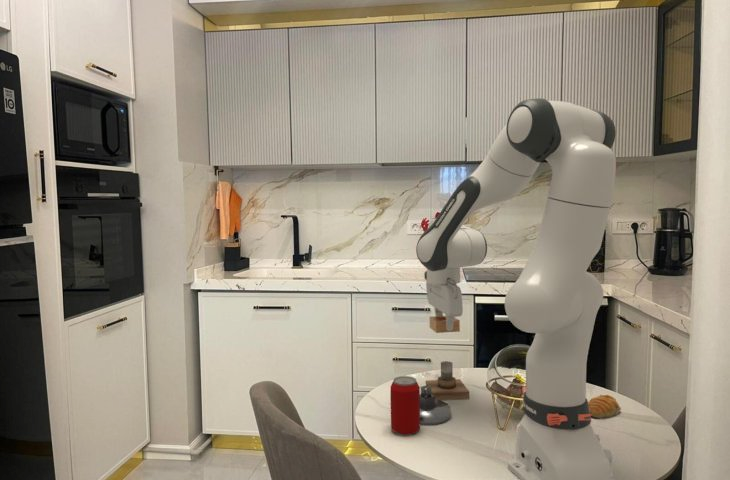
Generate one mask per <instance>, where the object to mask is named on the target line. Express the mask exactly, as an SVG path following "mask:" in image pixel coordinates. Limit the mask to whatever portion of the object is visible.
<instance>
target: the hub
mask: <svg viewBox="0 0 730 480" xmlns="http://www.w3.org/2000/svg"><path fill="white" fill-rule="evenodd" d="M451 407H452V406H450V404H448V402H445V400H437V399H435V396H434V395H432V394H431V387H430V386H426V385H422V386H420V426H438V425H442V424H445V423H447V422H448V421H450V420H451V418H452V417H451V415H452V414H451V413H452V410H451Z"/></svg>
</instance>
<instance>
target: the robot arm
mask: <svg viewBox="0 0 730 480" xmlns="http://www.w3.org/2000/svg"><path fill="white" fill-rule="evenodd" d="M616 134H617V133H616V125H615V123H614V121H613V119H612V118H611V117H610V116H609V115H608V114H606V113H604V112H602V111H601V110H598V109H595V108H588V107H586V106H585V107H584V106H581V105H579V104H574V103H572V102H569V101H562V100H548V99H545V98H542V97H541V98H529V99H525V100H522V101H520V102H519V103H517V104H516V105H515V107H514V108H513V109H512V110H511V112H510V115H509V117H508V119H507V123H506V124H505V125H504V126H503V128H502V129H501V131H500V132H499V134H497V137H495V140H494V141H493V143H492V145H491V147H490V148H489V150H488V152H487V154H486V156H485V157H484V159H483V161H482V162H481V163H480V164H479V165H478V167H476V168H475V170H474V171H473V172H472V173H471V174H470V175H469V176H468V177H467V178H465V179H464V180H462V181H461V183H459V185H458V186H457V187H456V189H455V190H454V191H453V193H452V194H451V196H450V197H449V199H447V201H446V203H445V204H444V206H443V208H442V209H441V210H440V212H439V214H438V215H437V216H436V217H434V218H431V219H430V220H429V221H428V226H427V229H426V230H425V231H423V233H422V234H421V235H420V237H419V239H418V241H417V244H416V249H415V250H416V256H417V259H418V260H419V262H420V264H421V265H422V266H423V267H424V268H426V270H425V271H424V274H423V276H424V277H423V278H424V280H426V282H425V285H426V289H425V290H426V297H427V298H426V299H427V301H428V304H429V305H430V306H432V307H434V309H433V310H434V315H435V316H446V323H445V329H446V330H447V331H452V330H453V323H454V320H455V318H457V317H461V316H462V315H463V311H464V309H463V293H462V289H461V287H460V286H459V285H457V284H460V283H461V268H465V267H467V268H468V267H474V266H477V265H481V264H482V263H483V261H484V260H485V259H486V257H487V253H488V242H487V239H486V237H485V235H484V234H483V233H482V232H481V231H480V230H478V229H474V228H472V227H468V226H466V225H465V222H466V221H467V219H468V218H470V216H471V215H473V214H474V213H476V212H477V211H479V210H481V209H484V208H486V207H488V206H492V205H494V204H498V203H502V202H506V201H509V200H512V199H514V198H515V197H517V196H519V194H520V193H522V192H523V190H524V189H526V188H527V186H528V184H529V183H530V181H532V180H531V179H532V178H533V176H534V175H535V173H536V171H537V169H538V168H539V167H540V163H542V162H543V161H545V160H546V162H547V163H548V164H549V166H550V168H551V179H550V180H551V181H550V185H549V189H548V192H547V197H546V202H545V207H544V211H543V216H542V219H541V224H540V228H539V232H538V235H537V239H536V240H535V244H534V246H533V248H532V250H531V252H530V255H529V256H528V259H527V261H526V263H525V265H524V267H523V269H522V271H521V273H520V275H519V277H518V278H517V279H516V281H515V282H514V283H513V284H512V285H511V287H510V288H509V289H508V291H507V292H506V295H505V296H504V297H505V298H504V310H505V313H506V316H507V318H508V320H509V321H510V323H512V325H513V327H515V328H516V329H518V330H520V331H521V332H525V333H530V334H535V335H534V337H533V341H532V342H531V345H530V346H529V348H528V350H527V352H526V355H525V356H526V357H525V391H524V392H523V399H522V407H523V408H522V411H523V413H524V414H523V416H522V418H521V420H520V421H519V423H518V424H517V425H516V429H515V430H516V431H515V442H514V456H513V457H512V458H511V459H509V460H508V461H507V468H508V469H509V470H510V471H511V472H512V473H513V474H514V475H515V476H516V477H517V478H519V480H615V478H614V477H613V475H612V468H611V464H612V462H613V454H612V451H611V450H610V449H604V448H603V446H602V445H601V442H600V441H601V439H600V438H601V437H600V436H599V434H596V432H595V430H594V427H593V426H592V424H591V422H592V418H591V417H593V416H592V415H591V414H590V408H589V406H588V402H589V400H588V398H587V396H586V394H587V393H586V390H587V386H586V385H587V362H588V355H589V350H590V344H591V340H592V336H593V331H594V326H595V321H596V318H597V314H598V311H599V309H600V307H601V305H602V304H603V300H604V288H603V285H602V283H601V282H600V281H599V279H598V278H597V277H596V276H595V275H594V274H593V273H590V272H589V271H587V270H588V269H589V267H590V265H591V263H592V261H593V259H594V258H595V257H596V255H597V254H598V253H599V251H600V249H601V247H602V242H603V239H604V234H605V231H606V226H607V222H608V219H609V213H610V210H611V206H612V201H613V197H614V191H615V183H616V173H617V171H616V170H617V167H616V166H617V159H616V155H615V153H614V152H613V150H612V147H613V146H614V143H615V139H616Z"/></svg>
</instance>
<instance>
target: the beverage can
mask: <svg viewBox="0 0 730 480" xmlns="http://www.w3.org/2000/svg"><path fill="white" fill-rule="evenodd" d="M420 394H421V386H420V385H419V383H418V382H417V379H416V378H415V377H413V376H406V375H401V376H397V377H394V378H393V381H392V384H391V385H390V428H391V430H392V431H393V432H395V433H396V434H398V435H402V436H412V435H413V434H415V433H416V432H418V431H419V430H420V429H421V425H420Z"/></svg>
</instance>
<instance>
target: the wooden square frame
mask: <svg viewBox="0 0 730 480" xmlns="http://www.w3.org/2000/svg"><path fill="white" fill-rule="evenodd" d="M460 321H461V320H460V319H458V318H457V317H455V320H454V323H453V330H452V331H447V330H446V329H445V323H446V315H443V316H436V315H435V316H429V329H431V330H432V331H433V332H434V333H436V334H440V333H457V332H458V333H459V332H461V330H460V327H461V324H460V323H461V322H460Z"/></svg>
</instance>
